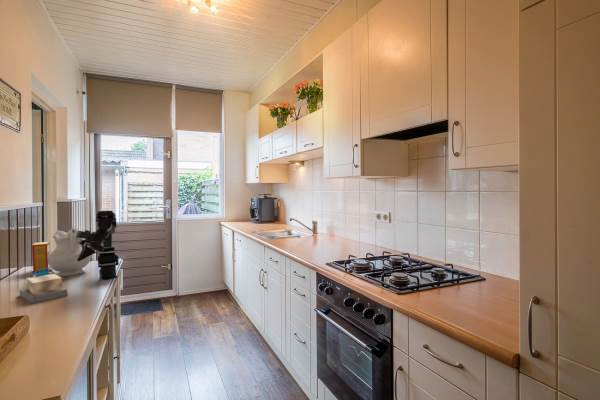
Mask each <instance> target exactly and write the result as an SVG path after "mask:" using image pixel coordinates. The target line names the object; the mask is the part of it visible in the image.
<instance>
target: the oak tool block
mask: <svg viewBox="0 0 600 400" xmlns="http://www.w3.org/2000/svg"><path fill="white" fill-rule="evenodd" d="M62 278H63V277H62V276H58V274H56V273H55V274H50V275H45V276H39V277H35V276H33V278H30V277H28V278H26V288H27V291H28V292H30V293H31V294H33V295H34V296H37V295H41V294H46V293H50V292H55V291H59V290H63V281H62Z"/></svg>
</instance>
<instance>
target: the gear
mask: <svg viewBox="0 0 600 400" xmlns="http://www.w3.org/2000/svg"><path fill="white" fill-rule="evenodd" d="M47 270H48V268H45V269H44V271H43V272H41V271H42V269H39V273H37V272H36V271H35V272H33V271H32V274H33V275H32V274H30V275H29V278H33V277H39V276H45V275H50V274H56V273H55V272H56V271H55V272H54V271H53V269H52V268H50V270H49V271H47ZM45 271H47V272H45ZM34 275H35V276H34Z"/></svg>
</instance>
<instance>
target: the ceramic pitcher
mask: <svg viewBox="0 0 600 400" xmlns="http://www.w3.org/2000/svg"><path fill="white" fill-rule="evenodd" d="M78 231H80V229H77V228H69V230H68V231H67V232H65V231H64V230H56V232H55V233H54V235H53V236H52V239H54V241H55V244H56V245H55V248H54V250H52V251H50V254H49V255H48V264H49V266H50V267H51V268H50V269H52V271H53V270H54V271H55V272H58V273H57V275H58V276H59V277H70V276H75V275H80V274H82V273H84V272H85V271H84V270H83V269H84V268H85V267H87V266H88V265H89V263H90V261H91V258H92V255H90V256H88V257H87V258H85V259H83V260H81V261H77V259H78V257H79V255H80V253H81V251H82V246H81V245H80V244H79V241H80V240H83V238H78V237H76V235H77V233H78Z"/></svg>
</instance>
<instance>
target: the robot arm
mask: <svg viewBox="0 0 600 400" xmlns="http://www.w3.org/2000/svg"><path fill="white" fill-rule="evenodd" d="M116 214H117V213H115V211H113V209H99V210H97V212H96V215H95V216H96V217H95V222H96V223H97V227H98V228H97V229H96V230H95V231H92V232H91V230H88V229H85V230H84V231H83V230H79V231H78V233H77V235H76V237H78V238H82V240H80V241H79V244H80V245H81V246H82V251H81V253H80V255H79V257H78V259H77V261H81V260H83V259H85V258H87V257H88V256H90V255H91V256H92V255H94V254H96V253H97V252H98V253H99V255H97V267H98V268H100V269H98V270H99V272H98V273H99V276H98V278H99V279H100V280H101V279H102V280H103V281H104V280H105V281H106V280H110V279H113V278H118V275H117V266H119V264H120V261H119V255H118V254H117V253H116V250H115V247H114V246H113V234H114V233H115V232H116V228H117V225H118V224H117V216H116ZM102 244H103V245H102Z"/></svg>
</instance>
